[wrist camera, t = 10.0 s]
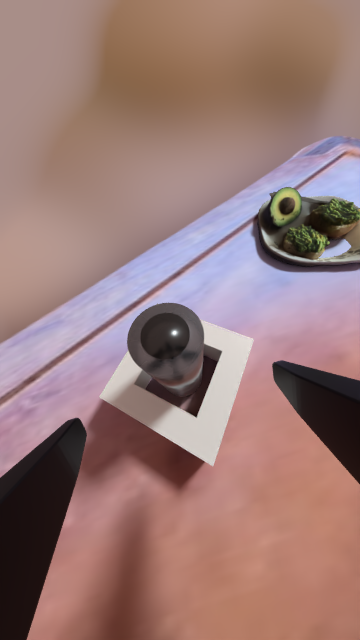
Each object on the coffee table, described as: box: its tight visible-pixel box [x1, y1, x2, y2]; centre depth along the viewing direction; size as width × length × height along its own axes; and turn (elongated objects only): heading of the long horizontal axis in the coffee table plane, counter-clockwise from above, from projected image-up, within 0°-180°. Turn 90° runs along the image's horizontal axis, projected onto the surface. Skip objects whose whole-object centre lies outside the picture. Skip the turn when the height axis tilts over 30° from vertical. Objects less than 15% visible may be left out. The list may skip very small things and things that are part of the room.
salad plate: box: [258, 187, 360, 266], centre depth 28 cm, size 19×18×5 cm
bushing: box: [127, 303, 204, 397], centre depth 15 cm, size 4×4×12 cm
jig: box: [100, 320, 254, 466], centre depth 19 cm, size 11×11×4 cm
